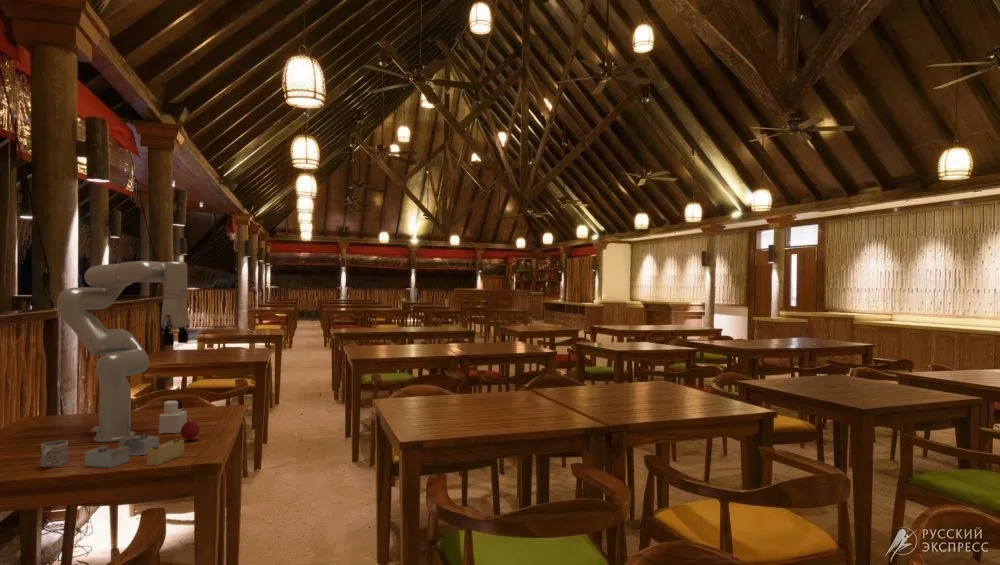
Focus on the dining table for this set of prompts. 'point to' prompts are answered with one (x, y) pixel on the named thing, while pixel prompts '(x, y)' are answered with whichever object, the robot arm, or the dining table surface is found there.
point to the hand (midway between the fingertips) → (175, 343)
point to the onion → (189, 430)
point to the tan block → (165, 452)
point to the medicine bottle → (172, 417)
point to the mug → (54, 453)
